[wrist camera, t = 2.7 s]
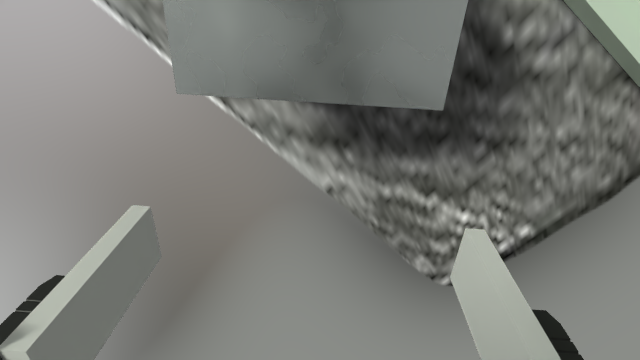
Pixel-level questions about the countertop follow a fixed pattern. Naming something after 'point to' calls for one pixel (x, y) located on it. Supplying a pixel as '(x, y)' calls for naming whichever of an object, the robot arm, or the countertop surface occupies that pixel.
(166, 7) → the block
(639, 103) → the countertop surface
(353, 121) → the countertop surface
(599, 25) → the tray
